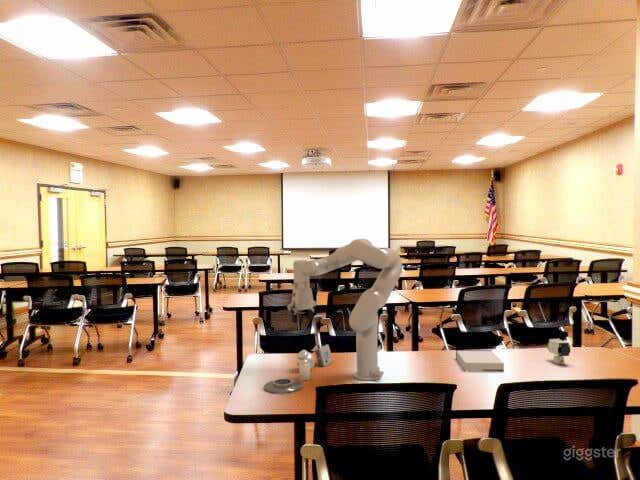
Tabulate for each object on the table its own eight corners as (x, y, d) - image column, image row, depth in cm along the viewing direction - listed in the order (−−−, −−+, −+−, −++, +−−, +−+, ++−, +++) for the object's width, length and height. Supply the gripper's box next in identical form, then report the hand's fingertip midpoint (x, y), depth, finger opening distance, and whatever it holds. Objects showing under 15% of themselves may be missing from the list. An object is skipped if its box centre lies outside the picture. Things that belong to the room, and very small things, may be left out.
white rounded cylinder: (312, 379, 214) (312, 362, 213) (304, 381, 210) (303, 364, 210) (305, 376, 217) (305, 360, 217) (297, 379, 214) (296, 362, 214)
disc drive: (491, 359, 239) (491, 350, 239) (504, 373, 217) (504, 362, 217) (455, 359, 241) (455, 349, 241) (465, 373, 219) (464, 362, 219)
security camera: (556, 359, 235) (555, 335, 234) (571, 366, 223) (570, 341, 223) (545, 360, 234) (545, 336, 234) (560, 367, 222) (559, 341, 222)
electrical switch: (324, 367, 231) (322, 348, 232) (315, 367, 234) (313, 348, 234) (333, 362, 240) (331, 344, 240) (324, 362, 242) (322, 344, 242)
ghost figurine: (293, 369, 229) (292, 348, 229) (311, 366, 233) (310, 346, 233) (299, 374, 221) (299, 352, 221) (318, 371, 225) (318, 350, 225)
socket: (309, 387, 202) (309, 381, 202) (279, 396, 192) (279, 390, 192) (286, 379, 214) (286, 373, 214) (256, 387, 203) (256, 381, 203)
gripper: (292, 288, 220) (293, 324, 220) (320, 284, 231) (321, 319, 231) (282, 286, 225) (283, 322, 226) (310, 283, 236) (312, 317, 237)
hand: (302, 321), depth 228 cm, fingers open, 9 cm apart
